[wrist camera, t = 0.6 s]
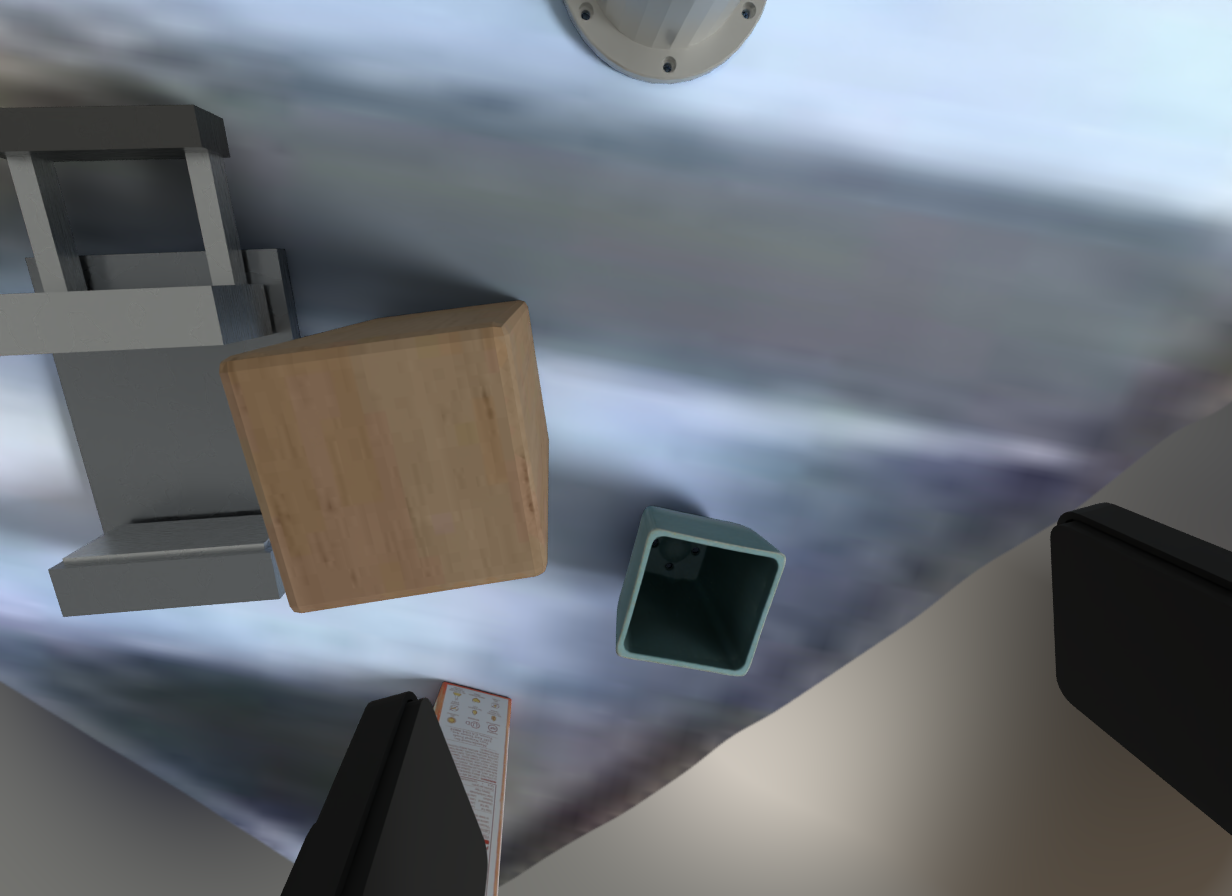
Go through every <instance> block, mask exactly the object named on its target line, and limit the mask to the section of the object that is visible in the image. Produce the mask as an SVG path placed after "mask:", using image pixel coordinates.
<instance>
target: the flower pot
mask: <svg viewBox="0 0 1232 896" xmlns="http://www.w3.org/2000/svg"><path fill="white" fill-rule="evenodd" d="M655 539H656V540H657V541H658V542H657V544H656V545H652V543H653V541H654V540H655ZM695 547H697V548H699V551H698V552H697V553H696V554H695V553H693V552H692V549H693V548H695ZM785 561H786V557H785V555H784V554H782V553H781V552H780V551H779V550H777V549H776V548H775V547H774V546H772V545H771V544H770V543H769V542H767V541H766V540H765V539H764V538H762V537H761V536H760V535H759V534H757V533H756V532H754V531H753V530H751V529H750V528H748V527H745V526H743V525H740V524H736V523H733V522H728V521H723V520H717V519H713V518H708V517H703V516H698V515H693V514H689V513H684V512H679V511H674V510H669V509H665V508H661V507H656V506H649V507H647V508H645V510H644V512H643V514H642V517H641V521H640V525H639V529H638V532H637V536H636V540H635V544H634V547H633V551H632V555H631V558H630V562H629V565H628V569H627V573H626V576H625V580H624V583H623V587H622V590H621V593H620V597H619V601H618V607H617V622H616V653H617V654H618V655H619V656H620V657H624V658H628V659H635V660H641V661H647V662H655V663H661V664H665V665H673V666H678V667H685V668H690V669H697V670H702V671H707V672H714V673H720V674H724V675H730V676H743V675H745V674H746V673H747V671H748V670H749V667H750V665H751V663H752V659H753V656H754V653H755V650H756V647H757V644H758V640H759V638H760V634H761V632H762V628H763V626H764V623H765V620H766V616H767V614H768V611H769V608H770V606H771V602H772V600H773V597H774V595H775V592H776V589H777V586H778V583H779V580H780V578H781V575H782V572H783V569H784V566H785ZM668 563H672V564H673V566H672V567H671V568H667V567H666V565H667V564H668Z"/></svg>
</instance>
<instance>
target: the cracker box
mask: <svg viewBox="0 0 1232 896" xmlns="http://www.w3.org/2000/svg"><path fill="white" fill-rule="evenodd" d="M433 709H434V711H435V714H436V717H437V719H438V722H439V724H440V727H441V729H442V732H443V735H444V737H445V740H446V742H447V745H448V747H449V750H450V753H451V755H452V758H453V760H454V763H455V765H456V768H457V770H458V773H459V776H460V778H461V781H462V783H463V786H464V788H465V791H466V794H467V796H468V799H469V801H470V804H471V806H472V809H473V811H474V814H475V817H476V819H477V822H478V824H479V827H480V829H481V832H482V835H483V837H484V840H485V844H486V849H487V857H488V870H487V880H486V889H485V896H498V882H499V868H500V854H501V839H502V826H503V813H504V799H505V785H506V771H507V756H508V743H509V723H510V714H511V699H510V698H506V697H502V696H498V695H494V694H490V693H486V692H483V691H479V690H475V689H471V688H467V687H463V686H459V685H455V684H451V683H448V682H443V683H442V686H441V689H440V691H439V694H438V697H437V699H436V702H435V705H434V708H433Z"/></svg>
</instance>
